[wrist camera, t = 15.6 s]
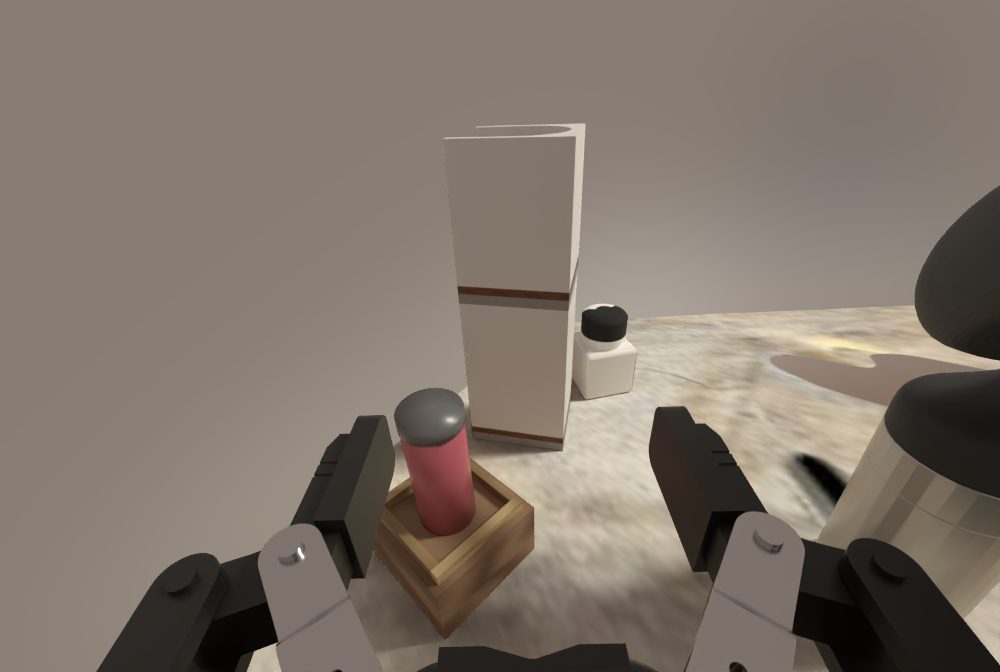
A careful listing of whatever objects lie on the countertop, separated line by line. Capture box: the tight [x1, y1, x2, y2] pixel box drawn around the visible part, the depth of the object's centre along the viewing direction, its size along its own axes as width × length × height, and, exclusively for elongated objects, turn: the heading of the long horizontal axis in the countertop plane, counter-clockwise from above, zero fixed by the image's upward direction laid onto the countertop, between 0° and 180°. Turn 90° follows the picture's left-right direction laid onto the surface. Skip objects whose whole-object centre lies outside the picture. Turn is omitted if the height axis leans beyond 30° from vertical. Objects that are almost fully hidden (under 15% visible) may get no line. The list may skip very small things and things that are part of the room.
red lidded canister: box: [394, 388, 476, 536], centre depth 36 cm, size 5×5×12 cm
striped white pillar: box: [443, 124, 585, 451], centre depth 49 cm, size 11×11×35 cm
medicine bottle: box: [572, 304, 637, 400], centre depth 61 cm, size 7×7×12 cm
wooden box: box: [373, 458, 534, 639], centre depth 40 cm, size 11×11×7 cm
